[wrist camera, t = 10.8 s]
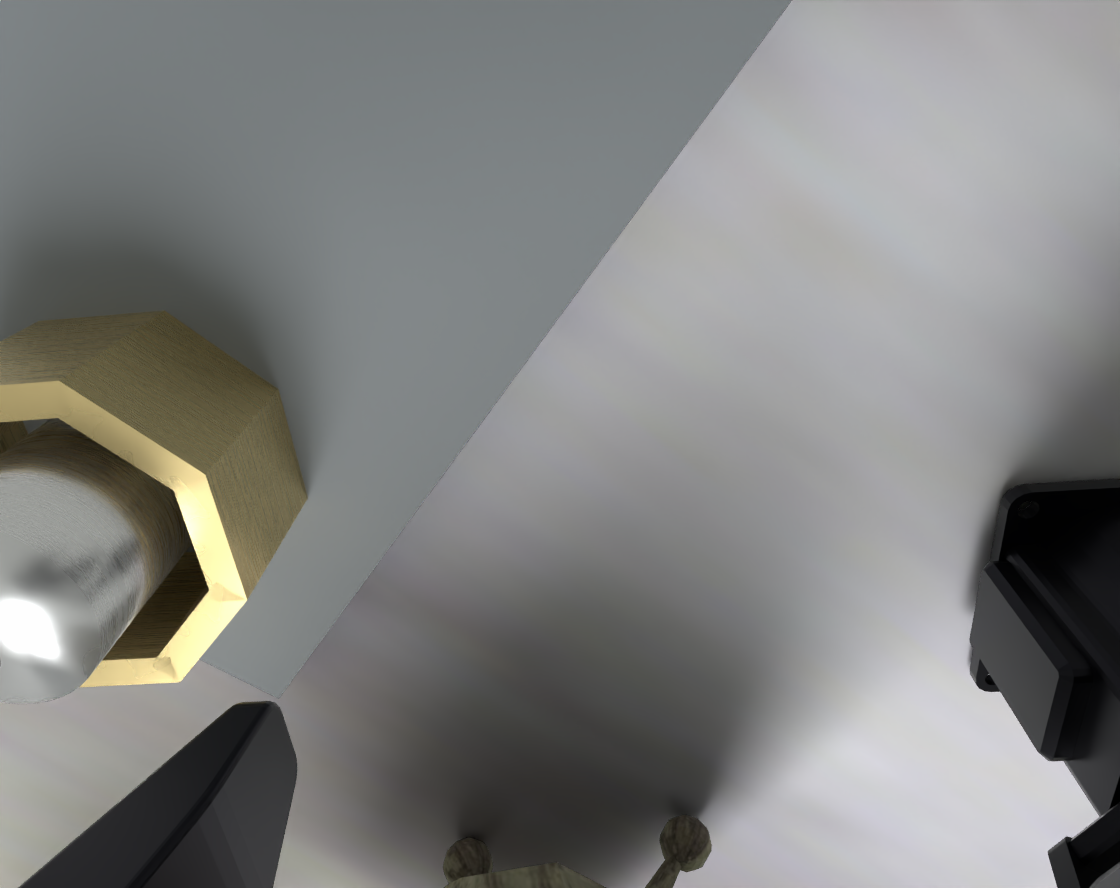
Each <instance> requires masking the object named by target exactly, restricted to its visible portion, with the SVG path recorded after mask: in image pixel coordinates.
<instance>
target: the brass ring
mask: <svg viewBox="0 0 1120 888" xmlns="http://www.w3.org/2000/svg"><path fill="white" fill-rule="evenodd" d="M51 418H59V419H60V420H62V421H64V422H65V423H67V424H68V425H70V426H72V427H73V428H75V429H76V430H78V431H80V432H81V433H83V434H84V435H86V436H87V437H89V438H91V439H92V440H94V441H95V442H97V443H99V444H100V445H102V446H103V447H105V448H107V449H108V450H110V451H111V452H113V453H115V454H116V455H118V456H119V457H121V458H123V459H124V460H126V461H127V462H129V463H131V464H132V465H134V466H135V467H137V468H138V469H140V470H142V471H143V472H145V473H146V474H148V475H150V476H151V477H153V478H154V479H156V480H158V481H159V482H161V483H162V484H164V485H166V486H167V487H169V488H170V489H172V490H174V493H175V495H176V498H177V501H178V504H179V507H180V509H181V512H182V515H183V518H184V521H185V523H186V526H187V529H188V532H189V535H190V537H191V540H192V543H193V546H194V549H195V551H196V552H185V553H184V554H183V556H182V557H181V558H180V560H179V561H178V562H177V563H176V565H175V566H174V567H173V569H172V570H171V571H170V573H169V574H168V575H167V576H166V578H165V579H164V580H163V582H162V583H161V584H160V586H159V587H158V588H157V589H156V591H155V592H154V593H153V595H152V596H151V597H150V599H149V600H148V601H147V602H146V604H145V605H144V606H143V608H142V609H141V610H140V612H139V613H138V614H137V615H136V617H135V618H134V619H133V621H132V622H131V623H130V625H129V626H128V627H127V628H126V630H125V631H124V632H123V634H122V635H121V636H120V638H119V639H118V640H117V641H116V643H115V644H114V645H113V647H112V648H111V649H110V651H109V652H108V653H107V655H106V656H105V657H104V658H103V660H102V661H101V662H100V664H99V665H98V666H97V668H96V669H95V670H94V671H93V673H92V674H91V675H90V677H89V678H88V679H87V680H86V681H85V682H84V683H83V684H82V685H81V686H80V687H95V686H115V685H134V684H154V683H174V682H181V680H182V679H183V678H184V677H185V675H186V674H187V673H188V672H189V671H190V669H191V668H192V667H193V666H194V664H195V663H196V662H197V661H198V660H199V658H200V657H201V656H202V655H203V653H204V652H205V651H206V650H207V649H208V647H209V646H210V645H211V644H212V642H213V641H214V640H215V639H216V638H217V636H218V635H219V634H220V633H221V631H222V630H223V629H224V628H225V627H226V625H227V624H228V623H229V622H230V620H231V619H232V618H233V617H234V616H235V614H236V613H237V612H238V611H239V609H240V608H241V607H242V606H243V605H244V603H245V602H246V601H247V600H248V598H249V596H250V595H251V593H252V591H253V590H254V588H255V586H256V584H257V583H258V581H259V579H260V578H261V576H262V574H263V573H264V571H265V569H266V568H267V566H268V564H269V563H270V561H271V559H272V558H273V556H274V554H275V553H276V551H277V549H278V548H279V546H280V544H281V543H282V541H283V539H284V538H285V536H286V534H287V532H288V531H289V529H290V527H291V526H292V524H293V522H294V521H295V519H296V517H297V516H298V514H299V512H300V511H301V509H302V507H303V506H304V504H305V502H306V501H307V499H308V496H307V492H306V489H305V485H304V481H303V478H302V474H301V470H300V467H299V463H298V459H297V456H296V452H295V448H294V444H293V441H292V437H291V433H290V430H289V426H288V422H287V419H286V415H285V411H284V408H283V404H282V400H281V397H280V393H279V389H277V388H276V387H274V386H273V385H272V384H270V383H269V382H267V381H266V380H264V379H263V378H261V377H260V376H259V375H257V374H256V373H254V372H253V371H251V370H250V369H248V368H247V367H245V366H244V365H243V364H241V363H240V362H238V361H237V360H235V359H234V358H232V357H231V356H230V355H228V354H227V353H225V352H224V351H222V350H221V349H219V348H218V347H217V346H215V345H214V344H212V343H211V342H209V341H208V340H206V339H205V338H204V337H202V336H201V335H199V334H198V333H196V332H195V331H193V330H192V329H191V328H189V327H188V326H186V325H185V324H183V323H182V322H180V321H179V320H178V319H176V318H175V317H173V316H172V315H170V314H169V313H167V312H166V311H165V310H163V311H152V312H140V313H128V314H116V315H104V316H92V317H80V318H68V319H56V320H45V321H38V322H36V323H34V324H32V325H30V326H28V327H27V328H25V329H23V330H21V331H19V332H17V333H15V334H13V335H12V336H10V337H8V338H6V339H4V340H2V341H0V455H1V454H2V453H3V452H5V451H6V450H7V449H9V448H10V447H12V446H13V445H14V444H16V443H17V442H19V441H20V440H21V439H23V438H24V437H25V436H27V435H28V432H27V430H26V428H25V425H24V423H23V421H24V420H37V419H51Z"/></svg>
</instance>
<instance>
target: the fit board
mask: <svg viewBox="0 0 1120 888" xmlns="http://www.w3.org/2000/svg"><path fill="white" fill-rule="evenodd" d="M791 1H792V0H1V1H0V341H2V340H4V339H6V338H8V337H10V336H12V335H13V334H15V333H17V332H19V331H21V330H23V329H25V328H27V327H28V326H30V325H32V324H34V323H36V322H38V321H45V320H56V319H68V318H80V317H92V316H104V315H116V314H128V313H140V312H152V311H163V310H165V311H166V312H167V313H169V314H170V315H172V316H173V317H175V318H176V319H178V320H179V321H180V322H182V323H183V324H185V325H186V326H188V327H189V328H191V329H192V330H193V331H195V332H196V333H198V334H199V335H201V336H202V337H204V338H205V339H206V340H208V341H209V342H211V343H212V344H214V345H215V346H217V347H218V348H219V349H221V350H222V351H224V352H225V353H227V354H228V355H230V356H231V357H232V358H234V359H235V360H237V361H238V362H240V363H241V364H243V365H244V366H245V367H247V368H248V369H250V370H251V371H253V372H254V373H256V374H257V375H259V376H260V377H261V378H263V379H264V380H266V381H267V382H269V383H270V384H272V385H273V386H274V387H276V388H277V389H279V393H280V397H281V400H282V404H283V408H284V411H285V415H286V419H287V422H288V426H289V430H290V433H291V437H292V441H293V444H294V448H295V452H296V456H297V459H298V463H299V467H300V470H301V474H302V478H303V481H304V485H305V489H306V492H307V496H308V499H307V501H306V502H305V504H304V506H303V507H302V509H301V511H300V512H299V514H298V516H297V517H296V519H295V521H294V522H293V524H292V526H291V527H290V529H289V531H288V532H287V534H286V536H285V538H284V539H283V541H282V543H281V544H280V546H279V548H278V549H277V551H276V553H275V554H274V556H273V558H272V559H271V561H270V563H269V564H268V566H267V568H266V569H265V571H264V573H263V574H262V576H261V578H260V579H259V581H258V583H257V584H256V586H255V588H254V590H253V591H252V593H251V595H250V596H249V598H248V600H247V601H246V602H245V603H244V605H243V606H242V607H241V608H240V609H239V611H238V612H237V613H236V614H235V616H234V617H233V618H232V619H231V620H230V622H229V623H228V624H227V625H226V627H225V628H224V629H223V630H222V631H221V633H220V634H219V635H218V636H217V638H216V639H215V640H214V641H213V642H212V644H211V645H210V646H209V647H208V649H207V650H206V651H205V652H204V653H203V655H202V656H201V657H200V658H199V660H201V661H203V662H205V663H207V664H210V665H212V666H214V667H216V668H218V669H220V670H222V671H224V672H226V673H228V674H230V675H232V676H234V677H236V678H238V679H240V680H242V681H244V682H246V683H248V684H250V685H252V686H254V687H256V688H258V689H260V690H262V691H264V692H266V693H268V694H270V695H272V696H274V697H276V698H278V699H279V698H280V696H281V695H282V694H283V692H284V691H285V690H286V688H287V687H288V686H289V684H290V683H291V682H292V680H293V679H294V677H295V676H296V675H297V673H298V672H299V671H300V669H301V668H302V667H303V665H304V664H305V662H306V661H307V660H308V658H309V657H310V656H311V654H312V653H313V652H314V650H315V649H316V647H317V646H318V645H319V643H320V642H321V641H322V639H323V638H324V637H325V635H326V634H327V633H328V631H329V630H330V628H331V627H332V626H333V624H334V623H335V622H336V620H337V619H338V618H339V616H340V615H341V613H342V612H343V611H344V609H345V608H346V607H347V605H348V604H349V603H350V601H351V600H352V599H353V597H354V596H355V594H356V593H357V592H358V590H359V589H360V588H361V586H362V585H363V584H364V582H365V581H366V579H367V578H368V577H369V575H370V574H371V573H372V571H373V570H374V569H375V567H376V566H377V564H378V563H379V562H380V560H381V559H382V558H383V556H384V555H385V554H386V552H387V551H388V550H389V548H390V547H391V545H392V544H393V543H394V541H395V540H396V539H397V537H398V536H399V535H400V533H401V532H402V530H403V529H404V528H405V526H406V525H407V524H408V522H409V521H410V520H411V518H412V517H413V516H414V514H415V513H416V511H417V510H418V509H419V507H420V506H421V505H422V503H423V502H424V501H425V499H426V498H427V496H428V495H429V494H430V492H431V491H432V490H433V488H434V487H435V486H436V484H437V483H438V481H439V480H440V479H441V477H442V476H443V475H444V473H445V472H446V471H447V469H448V468H449V467H450V465H451V464H452V462H453V461H454V460H455V458H456V457H457V456H458V454H459V453H460V452H461V450H462V449H463V447H464V446H465V445H466V443H467V442H468V441H469V439H470V438H471V437H472V435H473V434H474V432H475V431H476V430H477V428H478V427H479V426H480V424H481V423H482V422H483V420H484V419H485V418H486V416H487V415H488V413H489V412H490V411H491V409H492V408H493V407H494V405H495V404H496V403H497V401H498V400H499V398H500V397H501V396H502V394H503V393H504V392H505V390H506V389H507V388H508V386H509V385H510V384H511V382H512V381H513V379H514V378H515V377H516V375H517V374H518V373H519V371H520V370H521V369H522V367H523V366H524V364H525V363H526V362H527V360H528V359H529V358H530V356H531V355H532V354H533V352H534V351H535V349H536V348H537V347H538V345H539V344H540V343H541V341H542V340H543V339H544V337H545V336H546V335H547V333H548V332H549V330H550V329H551V328H552V326H553V325H554V324H555V322H556V321H557V320H558V318H559V317H560V315H561V314H562V313H563V311H564V310H565V309H566V307H567V306H568V305H569V303H570V302H571V301H572V299H573V298H574V296H575V295H576V294H577V292H578V291H579V290H580V288H581V287H582V286H583V284H584V283H585V281H586V280H587V279H588V277H589V276H590V275H591V273H592V272H593V271H594V269H595V268H596V266H597V265H598V264H599V262H600V261H601V260H602V258H603V257H604V256H605V254H606V253H607V252H608V250H609V249H610V247H611V246H612V245H613V243H614V242H615V241H616V239H617V238H618V237H619V235H620V234H621V232H622V231H623V230H624V228H625V227H626V226H627V224H628V223H629V222H630V220H631V219H632V218H633V216H634V215H635V213H636V212H637V211H638V209H639V208H640V207H641V205H642V204H643V203H644V201H645V200H646V198H647V197H648V196H649V194H650V193H651V192H652V190H653V189H654V188H655V186H656V185H657V183H658V182H659V181H660V179H661V178H662V177H663V175H664V174H665V173H666V171H667V170H668V169H669V167H670V166H671V164H672V163H673V162H674V160H675V159H676V158H677V156H678V155H679V154H680V152H681V151H682V149H683V148H684V147H685V145H686V144H687V143H688V141H689V140H690V139H691V137H692V136H693V134H694V133H695V132H696V130H697V129H698V128H699V126H700V125H701V124H702V122H703V121H704V120H705V118H706V117H707V115H708V114H709V113H710V111H711V110H712V109H713V107H714V106H715V105H716V103H717V102H718V100H719V99H720V98H721V96H722V95H723V94H724V92H725V91H726V90H727V88H728V87H729V86H730V84H731V83H732V81H733V80H734V79H735V77H736V76H737V75H738V73H739V72H740V71H741V69H742V68H743V66H744V65H745V64H746V62H747V61H748V60H749V58H750V57H751V56H752V54H753V53H754V51H755V50H756V49H757V47H758V46H759V45H760V43H761V42H762V41H763V39H764V38H765V37H766V35H767V34H768V32H769V31H770V30H771V28H772V27H773V26H774V24H775V23H776V22H777V20H778V19H779V17H780V16H781V15H782V13H783V12H784V11H785V9H786V8H787V7H788V5H789V4H790V3H791ZM23 423H24V425H25V428H26V430H27V432H28V435H27V436H25V437H24V438H23V439H21V440H20V441H19V442H17V443H16V444H14V445H13V446H12V447H10V448H9V449H7V450H6V451H5V452H3V453H2V454H1V455H0V702H3V703H12V704H31V703H40V702H46V701H50V700H54V699H57V698H60V697H63V696H65V695H67V694H69V693H71V692H73V691H74V690H75V689H77V688H78V687H80V686H81V685H82V684H83V683H84V682H85V681H86V680H87V679H88V678H89V677H90V675H91V674H92V673H93V671H94V670H95V669H96V668H97V666H98V665H99V664H100V662H101V661H102V660H103V658H104V657H105V656H106V655H107V653H108V652H109V651H110V649H111V648H112V647H113V645H114V644H115V643H116V641H117V640H118V639H119V638H120V636H121V635H122V634H123V632H124V631H125V630H126V628H127V627H128V626H129V625H130V623H131V622H132V621H133V619H134V618H135V617H136V615H137V614H138V613H139V612H140V610H141V609H142V608H143V606H144V605H145V604H146V602H147V601H148V600H149V599H150V597H151V596H152V595H153V593H154V592H155V591H156V589H157V588H158V587H159V586H160V584H161V583H162V582H163V580H164V579H165V578H166V576H167V575H168V574H169V573H170V571H171V570H172V569H173V567H174V566H175V565H176V563H177V562H178V561H179V560H180V558H181V557H182V556H183V554H184V553H185V552H196V551H195V549H194V546H193V543H192V540H191V537H190V535H189V532H188V529H187V526H186V523H185V521H184V518H183V515H182V512H181V509H180V507H179V504H178V501H177V498H176V495H175V493H174V490H172V489H170V488H169V487H167V486H166V485H164V484H162V483H161V482H159V481H158V480H156V479H154V478H153V477H151V476H150V475H148V474H146V473H145V472H143V471H142V470H140V469H138V468H137V467H135V466H134V465H132V464H131V463H129V462H127V461H126V460H124V459H123V458H121V457H119V456H118V455H116V454H115V453H113V452H111V451H110V450H108V449H107V448H105V447H103V446H102V445H100V444H99V443H97V442H95V441H94V440H92V439H91V438H89V437H87V436H86V435H84V434H83V433H81V432H80V431H78V430H76V429H75V428H73V427H72V426H70V425H68V424H67V423H65V422H64V421H62V420H60V419H59V418H51V419H37V420H24V421H23Z"/></svg>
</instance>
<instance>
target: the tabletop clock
mask: <svg viewBox="0 0 1120 888" xmlns="http://www.w3.org/2000/svg"><path fill="white" fill-rule="evenodd" d="M660 845H661V849H662V853H663V856H664V859H665V861H664V862H663V864H662V865H661V866H660V868H659V869H658V871H657V872H656V873H655V875H654V876H653V877H652V879H651V880H650V881H649V883H648V884H647V886H646V887H645V888H673V886H674V883H675V881H676V879H677V876H678V874H679V871H680V870H682V871H685V872H689V871H693V870H696V869H699V868H701V867H703V865H704V863H705V861H706V859H707V858H708V856H709V854H710V852H711V847H712V845H711V840H710V836H709V832H708V830H707V828H706V827H705V826H704V825H703V824H702V823H701V822H700V821H699V820H698V819H697V818H695V817H691V816H688V815H685V814H684V815H681V816H678V817H675V818H672V819H670V820H669V821H668V822H667V823H666V825H665V827H664V829H663V831H662V833H661V835H660ZM492 868H493V861H492V857H491V855H490V852H489V850H488V848H487V846H486V845H485V844H484V842H481V841H479V840H476V839H473V838H470V837H468V838H465V839H462V840H459V841H457V842H456V843H455V844H454V845H453V846H451V847H450V848H449V849H448V851H447V854H446V857H445V860H444V864H443V870H444V874H445V876H446V878H447V880H448V883H449V884H448V885H447V886H445V887H444V888H606V887H604V886H602V885H600V884H598V883H596V882H594V881H592V880H590V879H588V878H587V877H585V876H583V875H581V874H579V873H577V872H575V871H573V870H571V869H569V868H567V867H565V866H563V865H561V864H559V863H557V862H554V863H548V864H542V865H536V866H530V867H523V868H517V869H511V870H505V871H499V872H493V873H491V872H492Z"/></svg>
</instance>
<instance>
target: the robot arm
mask: <svg viewBox="0 0 1120 888" xmlns="http://www.w3.org/2000/svg"><path fill="white" fill-rule="evenodd" d="M1028 501H1031V503H1030V505H1029V506H1028V507H1027V508H1025V509H1022V510H1018V509H1019V507H1020V506H1021V505H1022V504H1023V503H1025V502H1028ZM970 643H971V645H972V647H973V648H974V649H973V654H972V660H971V665H970V675H971V676H972V678H973V680H974V681H975V683H976V685H977V686H978V687H979V689H982V690H984V691H989V692H999V691H1000V692H1001V693H1002V695H1003V697H1004V698H1005V700H1006V701H1007V703H1008V705H1009V706H1010V708H1011V709H1012V711H1013V713H1014V714H1015V716H1016V718H1017V719H1018V721H1019V722H1020V724H1021V726H1022V727H1023V729H1024V730H1025V732H1026V734H1027V735H1028V737H1029V738H1030V740H1031V742H1032V743H1033V745H1034V747H1035V748H1036V750H1037V751H1038V752H1039V753H1040V754H1041V755H1042V756H1043V757H1045V758H1046V759H1047V760H1048V761H1064V762H1065V764H1066V766H1067V767H1068V769H1069V770H1070V772H1071V773H1072V775H1073V776H1074V778H1075V779H1076V781H1077V783H1078V784H1079V786H1080V787H1081V789H1082V790H1083V792H1084V793H1085V795H1086V796H1087V798H1088V800H1089V801H1090V803H1091V804H1092V806H1093V807H1094V809H1095V810H1096V812H1097V813H1098V815H1099V816H1100V817H1099V818H1098V819H1097V820H1095V821H1094V822H1093V823H1092V824H1090V825H1089V826H1088V827H1086V828H1085V829H1084V830H1082V831H1081V832H1080V833H1079V834H1077V835H1076V836H1075V837H1073V838H1071V837H1065V838H1064V839H1063V840H1061V841H1060V842H1059V843H1058V844H1056V845H1055V846H1054V847H1052V848H1051V849H1050V850H1049V851H1048V856H1049V859H1050V863H1051V866H1052V870H1053V873H1054V877H1055V880H1056V884H1057V887H1058V888H1120V479H1107V480H1090V481H1072V482H1055V483H1037V484H1023V485H1019V486H1015V487H1014V488H1012V489H1010V490H1009V491H1008V492H1007V493H1006V494H1005V495H1004V496H1003V498H1002V500H1001V503H1000V508H999V514H998V519H997V525H996V530H995V535H994V541H993V546H992V552H991V557H990V562H988V563H987V564H986V566H985V567H984V568H983V570H982V573H981V579H980V584H979V590H978V595H977V601H976V606H975V612H974V617H973V623H972V629H971V634H970ZM988 674H990V675H988ZM296 778H297V759H296V754H295V751H294V748H293V745H292V742H291V739H290V736H289V733H288V730H287V726H286V723H285V720H284V717H283V714H282V711H281V709H280V707H279V706H278V705H277V704H276V703H275V702H271V701H261V702H242V703H238V704H235V705H233V706H232V707H231V708H229V709H228V710H227V711H226V712H224V713H223V714H222V715H221V716H220V717H218V718H217V719H216V720H215V721H214V722H213V723H211V724H210V725H209V726H208V727H207V728H206V729H204V730H203V731H202V732H201V733H200V734H198V735H197V736H196V737H195V738H194V739H193V740H191V741H190V742H189V743H188V744H187V745H186V746H184V747H183V748H182V749H181V750H180V751H178V752H177V753H176V754H175V755H174V756H173V757H171V758H170V759H169V760H168V761H167V762H166V763H164V764H163V765H162V766H161V767H160V768H158V769H157V770H156V771H155V772H154V773H153V774H151V775H150V776H149V777H148V778H147V779H146V780H144V781H143V782H142V783H141V784H140V785H138V786H137V787H136V788H135V789H134V790H133V791H131V792H130V793H129V794H128V795H127V796H125V797H124V798H123V799H122V800H121V801H120V802H118V803H117V804H116V805H115V806H114V807H113V808H111V809H110V810H109V811H108V812H107V813H105V814H104V815H103V816H102V817H101V818H100V819H98V820H97V821H96V822H95V823H94V824H93V825H91V826H90V827H89V828H88V829H87V830H85V831H84V832H83V833H82V834H81V835H80V836H78V837H77V838H76V839H75V840H74V841H73V842H71V843H70V844H69V845H68V846H67V847H65V848H64V849H63V850H62V851H61V852H60V853H58V854H57V855H56V856H55V857H54V858H53V859H51V860H50V861H49V862H48V863H47V864H45V865H44V866H43V867H42V868H41V869H40V870H38V871H37V872H36V873H35V874H34V875H32V876H31V877H30V878H29V879H28V880H27V881H25V882H24V883H23V884H22V885H21V886H20V887H18V888H273V884H274V880H275V875H276V871H277V866H278V862H279V857H280V852H281V848H282V843H283V839H284V834H285V829H286V825H287V820H288V816H289V811H290V806H291V802H292V797H293V793H294V788H295V784H296Z"/></svg>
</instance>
